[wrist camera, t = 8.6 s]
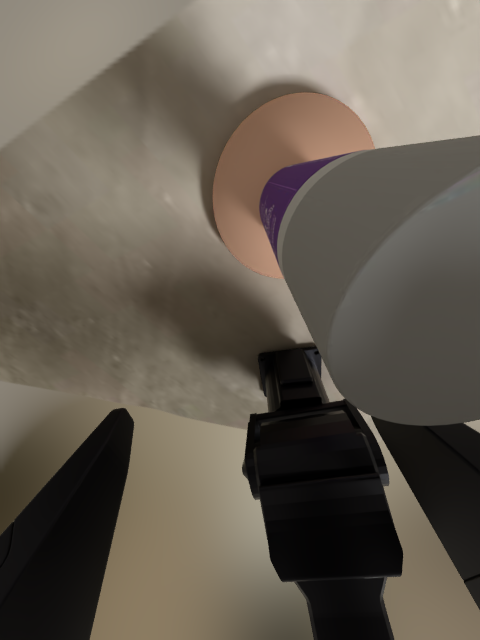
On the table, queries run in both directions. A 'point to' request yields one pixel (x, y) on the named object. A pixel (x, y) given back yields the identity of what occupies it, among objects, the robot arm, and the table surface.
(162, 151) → the table surface
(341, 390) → the container
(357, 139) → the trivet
